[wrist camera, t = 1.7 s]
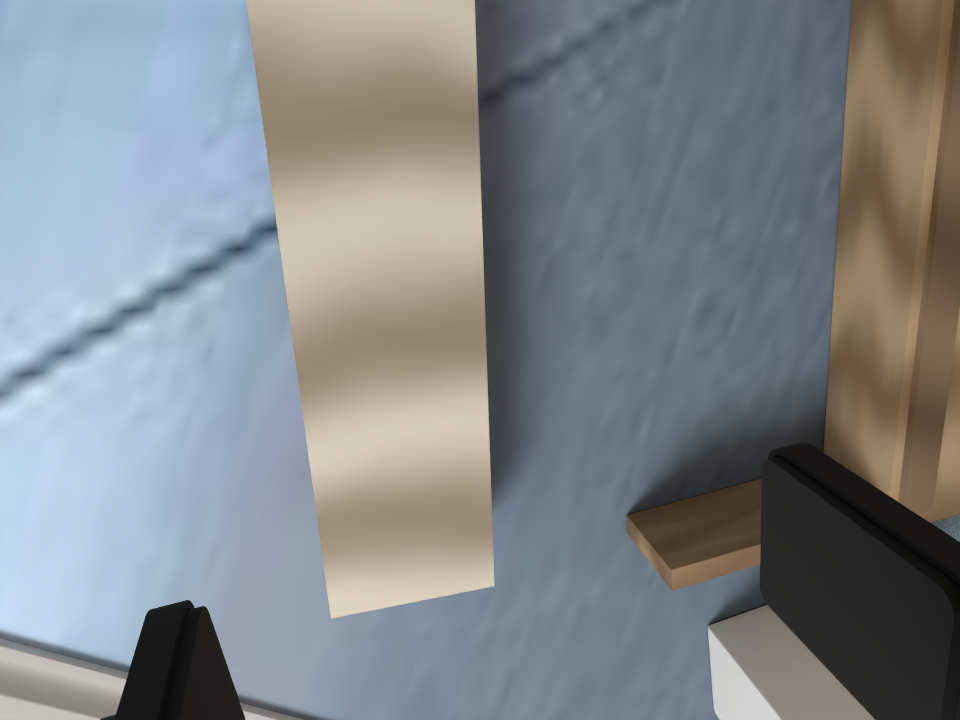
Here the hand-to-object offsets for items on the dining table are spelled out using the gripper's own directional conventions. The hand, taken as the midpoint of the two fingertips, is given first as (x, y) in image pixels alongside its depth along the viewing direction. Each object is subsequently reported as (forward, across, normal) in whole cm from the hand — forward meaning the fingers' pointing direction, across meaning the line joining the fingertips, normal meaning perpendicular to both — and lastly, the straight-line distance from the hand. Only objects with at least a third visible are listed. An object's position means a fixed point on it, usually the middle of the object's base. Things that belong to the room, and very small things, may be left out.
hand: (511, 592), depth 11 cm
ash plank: (+16, 0, -1) cm, 16 cm away
